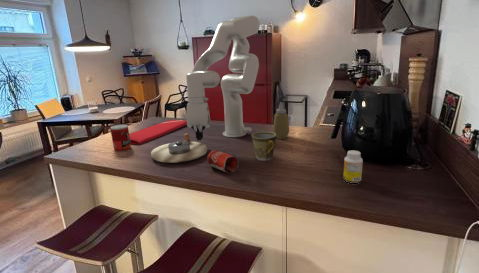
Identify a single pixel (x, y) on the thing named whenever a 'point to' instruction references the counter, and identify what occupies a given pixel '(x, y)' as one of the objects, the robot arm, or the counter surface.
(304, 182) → the counter surface
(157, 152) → the platter
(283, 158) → the counter surface
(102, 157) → the counter surface
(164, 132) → the dish drying mat
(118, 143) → the canned food
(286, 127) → the squeeze bottle
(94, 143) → the counter surface
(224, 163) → the beverage can
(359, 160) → the supplement bottle
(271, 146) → the ceramic cup
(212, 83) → the robot arm
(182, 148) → the cover
